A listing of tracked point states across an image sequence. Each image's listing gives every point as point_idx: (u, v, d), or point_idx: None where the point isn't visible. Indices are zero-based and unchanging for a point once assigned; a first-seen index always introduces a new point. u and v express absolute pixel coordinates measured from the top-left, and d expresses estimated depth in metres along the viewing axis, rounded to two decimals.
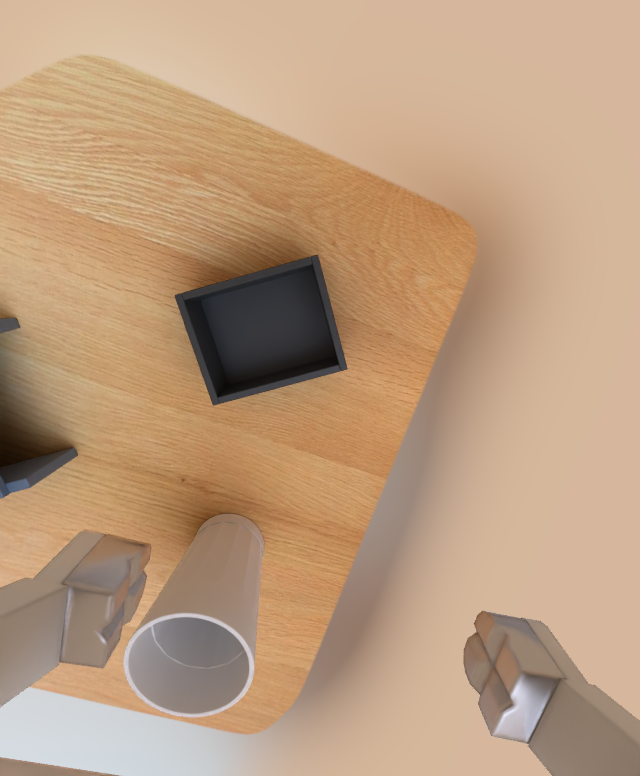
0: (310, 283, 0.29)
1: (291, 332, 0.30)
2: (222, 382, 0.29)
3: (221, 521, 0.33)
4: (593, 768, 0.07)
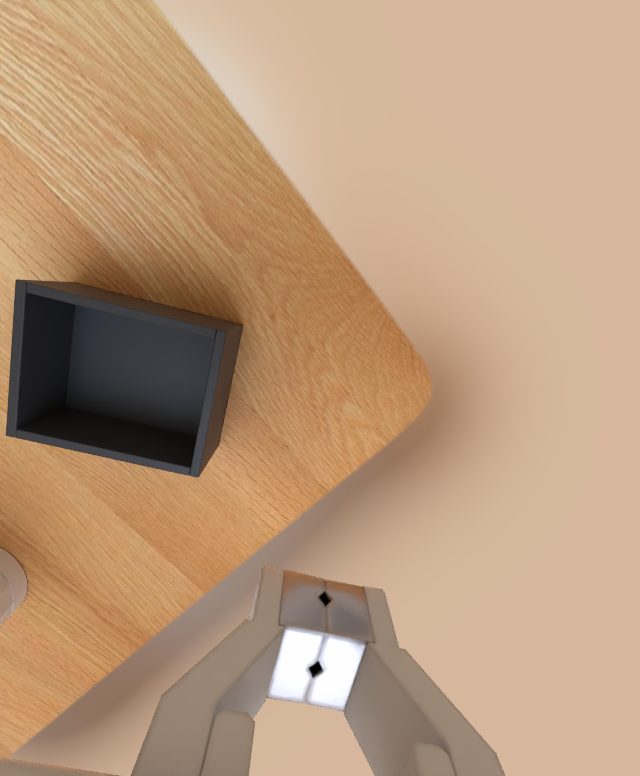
0: None
1: (171, 387, 0.23)
2: (49, 405, 0.22)
3: None
4: (385, 733, 0.07)
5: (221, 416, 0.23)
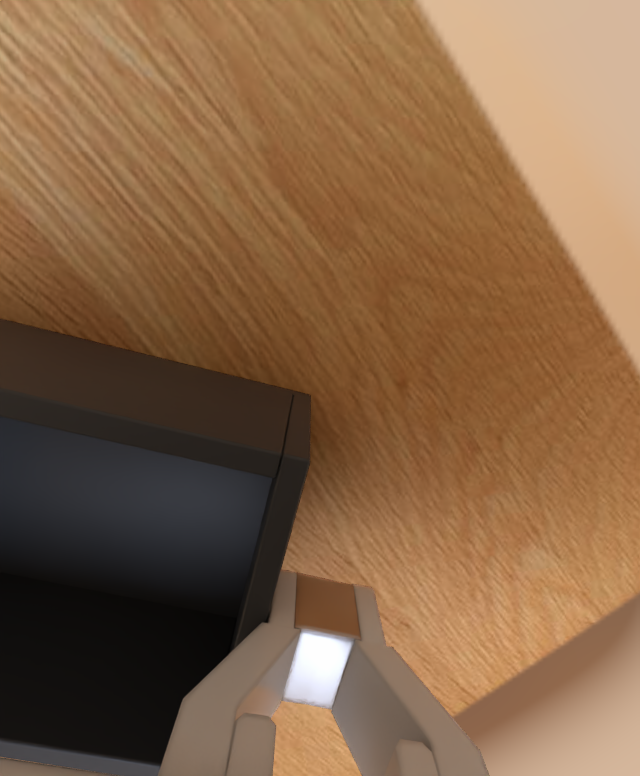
0: None
1: (158, 522, 0.11)
2: None
3: None
4: (371, 730, 0.07)
5: None
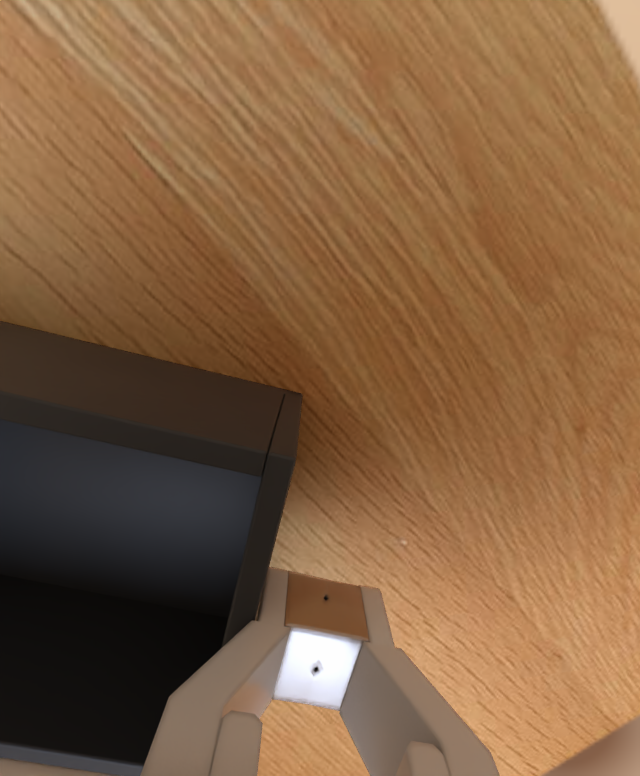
0: None
1: (150, 522, 0.11)
2: None
3: None
4: (380, 732, 0.07)
5: None
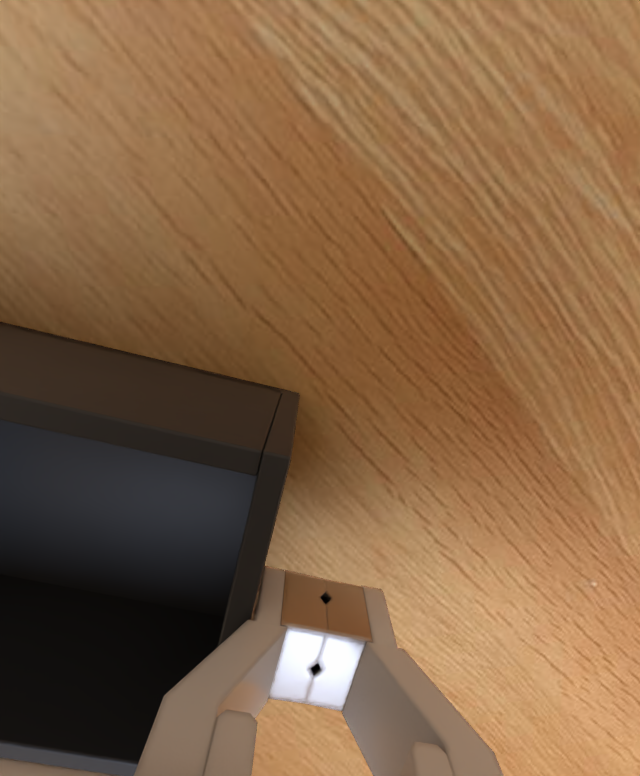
0: None
1: (148, 522, 0.11)
2: None
3: None
4: (384, 732, 0.07)
5: None
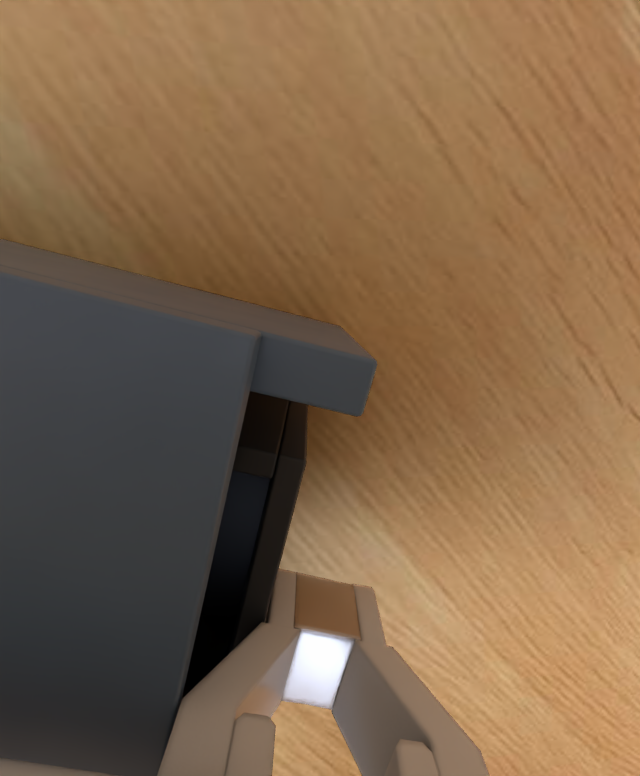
0: None
1: None
2: None
3: None
4: (371, 730, 0.07)
5: None
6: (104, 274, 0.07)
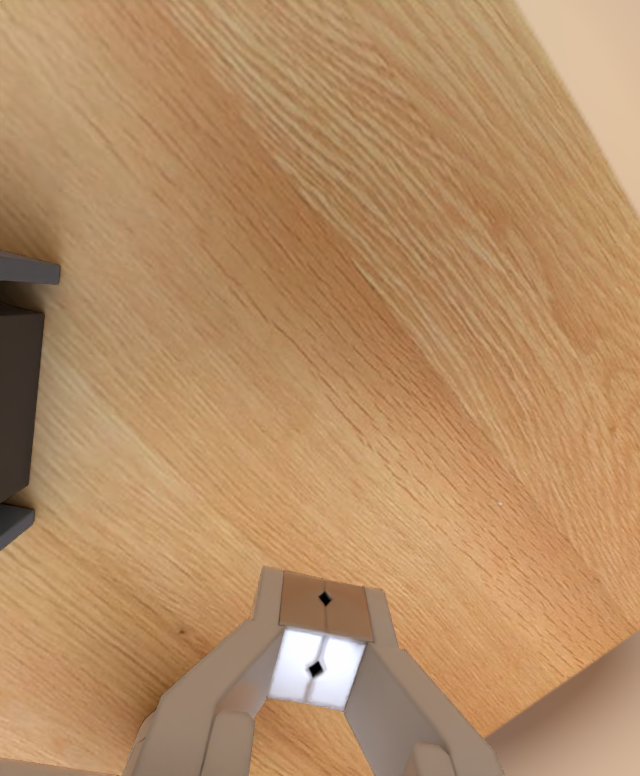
0: None
1: None
2: None
3: None
4: (385, 733, 0.07)
5: (13, 445, 0.16)
6: None
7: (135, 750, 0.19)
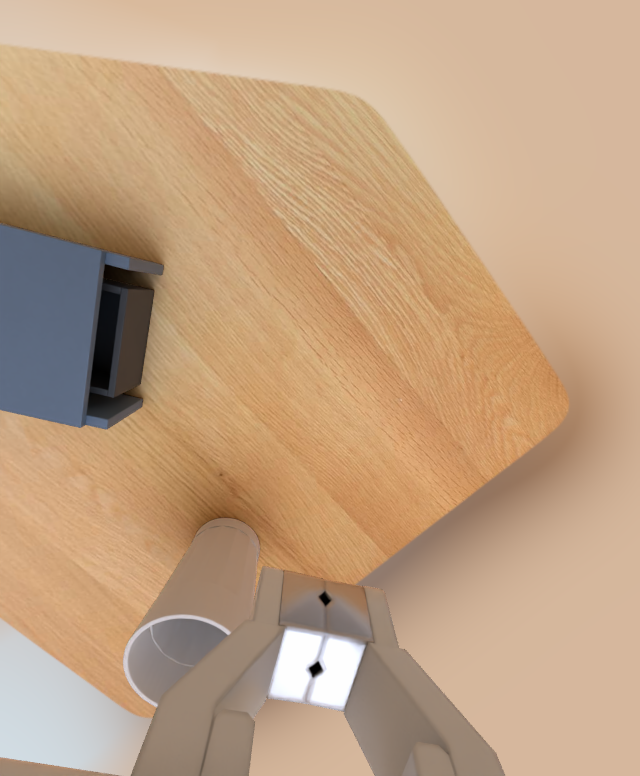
0: None
1: (101, 337, 0.31)
2: None
3: (235, 527, 0.34)
4: (385, 733, 0.07)
5: (138, 358, 0.31)
6: (78, 243, 0.27)
7: (195, 538, 0.34)
